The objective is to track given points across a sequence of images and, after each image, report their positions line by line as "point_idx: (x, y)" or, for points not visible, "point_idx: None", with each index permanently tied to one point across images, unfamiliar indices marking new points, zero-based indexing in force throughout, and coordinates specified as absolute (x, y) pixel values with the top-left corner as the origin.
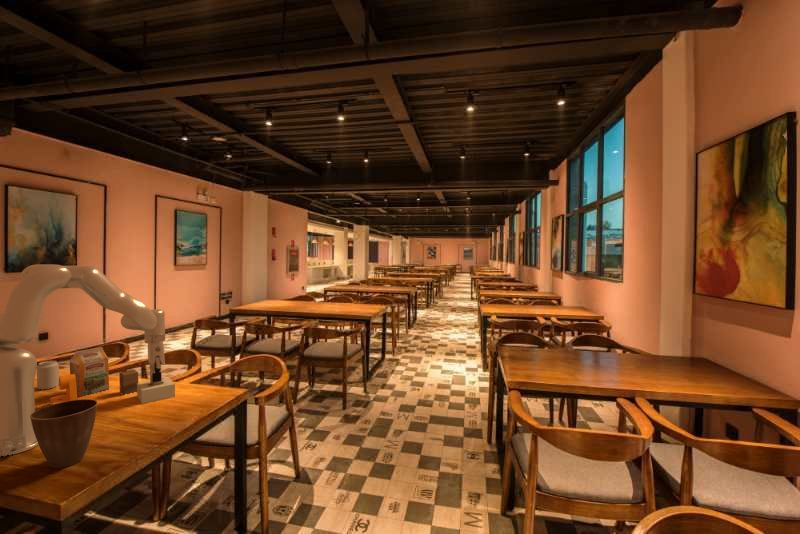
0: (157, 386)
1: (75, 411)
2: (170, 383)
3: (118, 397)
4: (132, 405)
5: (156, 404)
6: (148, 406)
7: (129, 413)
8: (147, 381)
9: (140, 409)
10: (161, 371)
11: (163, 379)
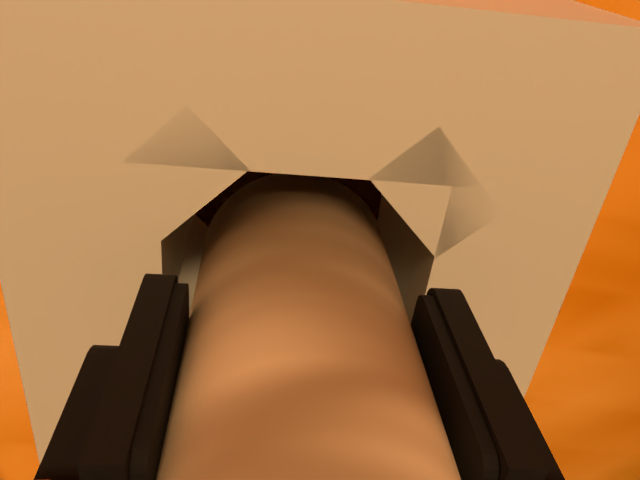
0: (502, 313)
1: None
2: (542, 93)
3: (27, 455)
4: None
5: (604, 253)
6: (583, 319)
7: (599, 445)
8: (24, 363)
9: (592, 379)
10: (375, 409)
11: (69, 115)
